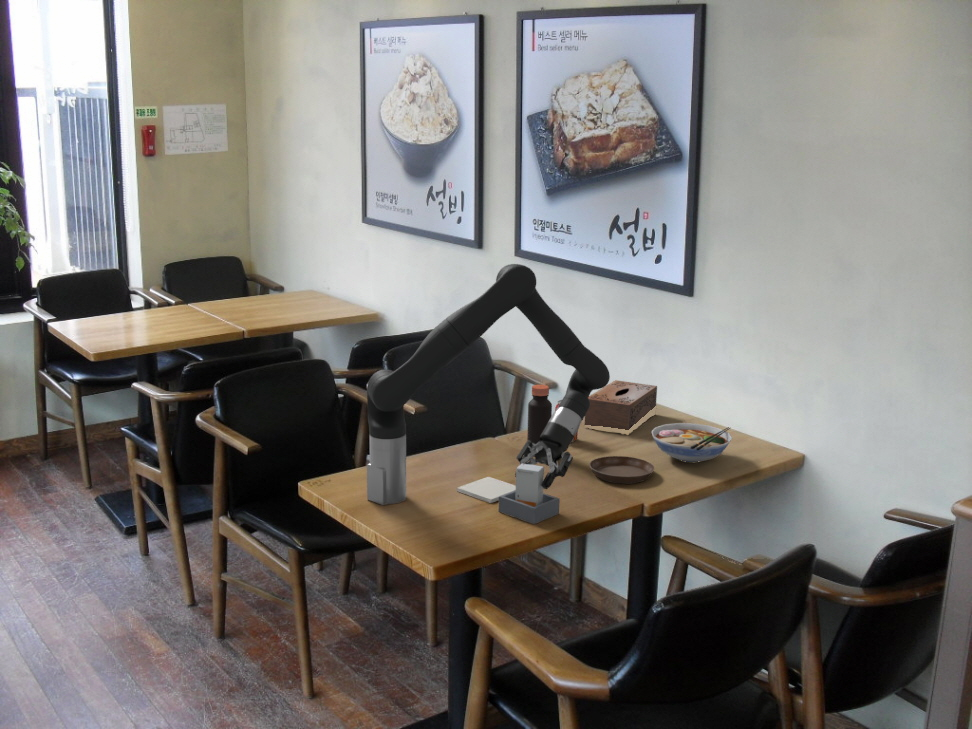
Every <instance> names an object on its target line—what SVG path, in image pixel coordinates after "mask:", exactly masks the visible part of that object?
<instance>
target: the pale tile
mask: <svg viewBox="0 0 972 729" xmlns="http://www.w3.org/2000/svg"><path fill="white" fill-rule="evenodd" d="M514 490H516V484H512V483H509V482H506V481H502V480H500V479H497V478H493V477H491V476H486V477H484V478H481V479H477V480H475V481H471V482H469V483H467V484H463V485H461V486H458V487H456V491H457V492H458V493H462V494H464V495H467V496H470V497H472V498H474V499H475V498H476V499H478V500H480V501H483V502H486V503H489V504H492V503H495V502H497V501H498V502H499V496H501V495H504V494H507V493H509V492H512V491H514Z"/></svg>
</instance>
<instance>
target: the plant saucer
mask: <svg viewBox="0 0 972 729" xmlns="http://www.w3.org/2000/svg"><path fill="white" fill-rule="evenodd" d="M588 466H589V467H590V469H591V472H593V474H594V475H595V476H596V477H597V478H598V479H599V480H602V481H606V482H609V483H613V484H621V485H622V484H625V485H626V484H637V483H642V482H644V481H645V480H647V479H648V478H649V477H650V476H651V475H652V474H653V472H654V470H655V466H654V464H652V463H651V462H649V461H648V460H645V459H642V458H638V457H632V456H624V455H623V456H621V455H612V456H611V455H609V456H602V457H598V458H594V459H593V460H591V461H590V462H589V465H588Z"/></svg>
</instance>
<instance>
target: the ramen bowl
mask: <svg viewBox="0 0 972 729" xmlns="http://www.w3.org/2000/svg"><path fill="white" fill-rule="evenodd" d="M730 429H731V427H726V428H725V429H722V428H718V427H715V426H711V425H708V424H702V423H700V424H699V423H695V422H694V423H687V422H677V423H675V422H674V423H666V424H662V425H659V426H655V427H654V428H653V429H652V430H651V431H650V432H651V434H652V438H653V440H654V442H655V443H656V445H657V447H658V448H659V450H661V451H662V453H664V454H665V455H667V456H669V457H671V458H673V459H677V460H678V459H679V460H678V461H680V460H682V461H686V462H685V463H687V462H698V461H701V462H703V461H708V460H712V459H714V458H716V457H718V456H720V455H721V454H722V453H723V452H724V450H726V448H727V447H728V445H729V444H730V443H731V441H732V440H733V437H732V435H731V433H730V432H728V430H730ZM682 461H681V462H682Z"/></svg>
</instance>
